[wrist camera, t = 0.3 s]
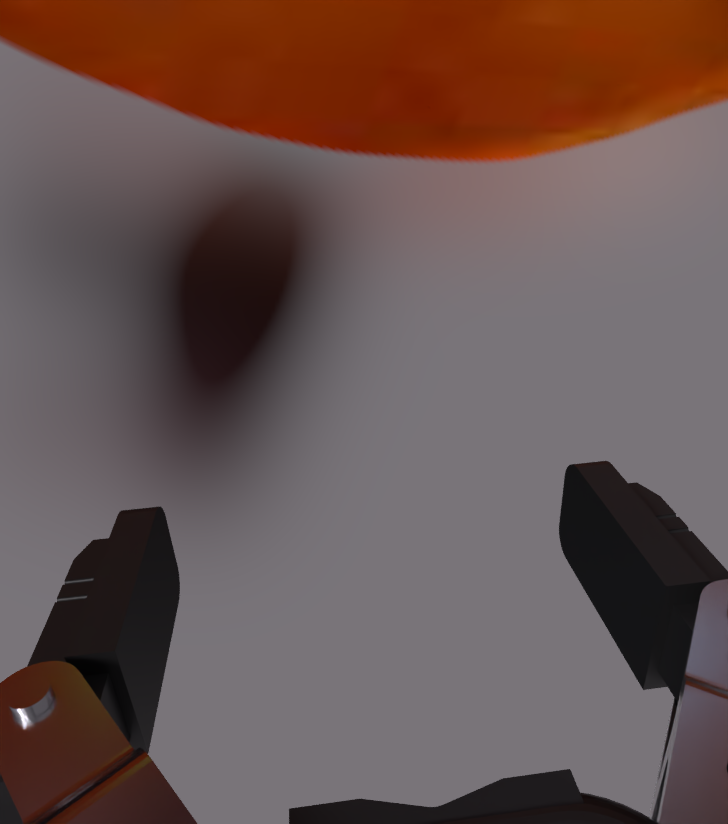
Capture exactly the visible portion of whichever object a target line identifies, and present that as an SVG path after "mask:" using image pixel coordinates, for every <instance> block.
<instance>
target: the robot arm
mask: <svg viewBox="0 0 728 824" xmlns="http://www.w3.org/2000/svg"><path fill="white" fill-rule="evenodd" d="M559 535H560V542H561V547H562V550H563V553H564V555H565V557H566V559H567V561H568V563H569V564H570V566H571V568H572V569H573V571H574V573H575V574H576V576H577V578H578V580H579V581H580V583H581V585H582V586H583V588H584V590H585V591H586V593H587V595H588V597H589V598H590V600H591V602H592V603H593V605H594V607H595V608H596V610H597V612H598V614H599V615H600V617H601V619H602V620H603V622H604V624H605V625H606V627H607V629H608V630H609V632H610V634H611V636H612V637H613V639H614V641H615V642H616V644H617V646H618V648H619V649H620V651H621V653H622V654H623V656H624V658H625V660H626V661H627V663H628V664H629V666H630V668H631V670H632V671H633V673H634V675H635V677H636V678H637V680H638V682H639V683H640V685H641V687H642V688H643V690H645V689H652V688H661V687H668V688H669V689H670V691H671V693H672V694H673V696H674V701H673V705H672V709H671V713H670V718H669V723H668V728H667V733H666V738H665V743H664V748H663V752H662V757H661V762H660V767H659V772H658V777H657V782H656V787H655V792H654V797H653V801H652V806H651V810H650V814H649V817H647V816H645V815H643V814H642V813H640V812H638V811H636V810H633V809H632V808H630V807H628V806H625V805H623V804H620V803H618V802H615V801H612V800H610V799H607V798H603V797H599V796H595V795H591V794H585V793H580V792H579V789H578V787H577V785H576V782H575V780H574V777H573V775H572V772H571V770H570V769H567V770H560V771H553V772H546V773H539V774H532V775H525V776H518V777H511V778H504V779H501V780H499V781H496V782H494V783H492V784H489V785H487V786H485V787H483V788H481V789H478V790H476V791H474V792H471V793H469V794H467V795H465V796H462V797H460V798H458V799H456V800H453V801H451V802H449V803H447V804H444V805H441V806H438V807H423V806H414V805H407V804H399V803H390V802H382V801H374V800H365V799H355V800H349V801H341V802H334V803H327V804H319V805H312V806H305V807H298V808H291V809H289V824H728V571H727V570H726V569H725V568H724V567H723V566H722V564H721V563H720V562H719V561H718V560H717V559H716V558H715V557H714V555H712V553H711V552H710V551H709V550H708V549H707V548H706V547H705V546H704V544H703V543H702V542H701V541H700V540H699V539H698V538H697V537H696V535H695V534H694V533H693V532H692V531H689V530H688V527H687V525H686V524H685V523H684V522H683V521H682V520H681V519H680V518H679V517H676V513H675V512H674V511H673V510H672V509H671V508H670V507H669V505H667V503H666V502H665V501H664V500H663V499H662V498H661V497H660V496H659V495H657V494H655V493H654V492H652V491H650V490H649V489H647V488H645V487H643V486H642V485H640V484H638V483H627V482H626V481H625V479H624V478H623V477H622V476H621V475H620V473H619V472H618V471H617V470H616V469H615V468H614V467H613V465H612V464H611V463H610V462H608V461H600V462H591V463H582V464H572V465H569V466H568V467H567V469H566V473H565V479H564V488H563V497H562V506H561V515H560V523H559ZM179 594H180V582H179V572H178V566H177V562H176V558H175V554H174V550H173V545H172V541H171V537H170V533H169V529H168V524H167V520H166V516H165V513H164V511H163V509H162V508H161V507H152V508H143V509H133V510H123V511H121V512H119V514H118V516H117V519H116V522H115V524H114V527H113V529H112V532H111V535H110V537H109V538H108V539H99V540H93V541H92V542H91V543H90V544H89V545H88V546H87V547H86V548H85V549H84V550H83V551H82V552H81V553H80V554H79V555H78V556H77V557H76V558H75V559H74V560H73V563H72V565H71V567H70V569H69V572H68V575H67V576H66V579H65V585H63V586H62V588H61V590H60V592H59V595H58V597H57V602H55V604H54V606H53V609H52V611H51V613H50V616H49V618H48V620H47V622H46V625H45V627H44V629H43V631H42V634H41V636H40V638H39V641H38V643H37V645H36V648H35V650H34V652H33V654H32V657H31V659H30V661H29V664H28V666H27V667H25V668H23V669H21V670H20V671H17V672H16V673H14V674H12V675H11V676H9V677H8V678H6V679H5V680H4V681H2V682H1V683H0V824H197V823H196V821H195V820H194V818H193V817H192V815H191V814H190V813H189V811H188V810H187V808H186V807H185V806H184V804H183V803H182V801H181V800H180V799H179V797H178V796H177V794H176V793H175V792H174V790H173V789H172V787H171V786H170V785H169V783H168V782H167V780H166V779H165V778H164V776H163V775H162V773H161V772H160V771H159V769H158V768H157V766H156V765H155V764H154V762H153V761H152V759H151V758H150V757H149V755H148V752H149V747H150V742H151V737H152V732H153V727H154V722H155V717H156V712H157V707H158V702H159V697H160V692H161V687H162V682H163V677H164V672H165V667H166V662H167V657H168V652H169V647H170V642H171V637H172V633H173V628H174V622H175V617H176V613H177V608H178V603H179Z"/></svg>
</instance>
